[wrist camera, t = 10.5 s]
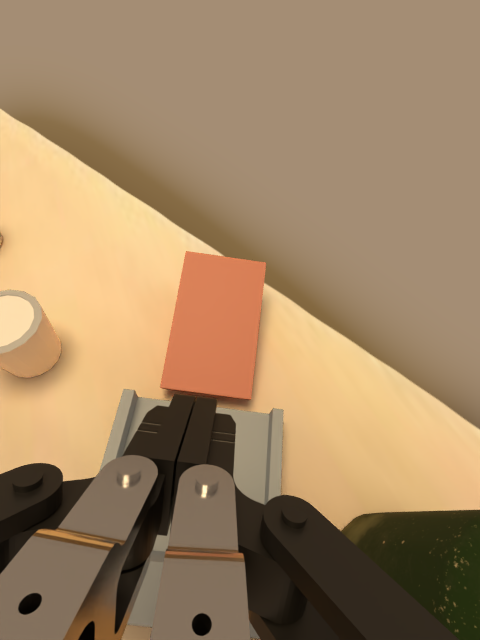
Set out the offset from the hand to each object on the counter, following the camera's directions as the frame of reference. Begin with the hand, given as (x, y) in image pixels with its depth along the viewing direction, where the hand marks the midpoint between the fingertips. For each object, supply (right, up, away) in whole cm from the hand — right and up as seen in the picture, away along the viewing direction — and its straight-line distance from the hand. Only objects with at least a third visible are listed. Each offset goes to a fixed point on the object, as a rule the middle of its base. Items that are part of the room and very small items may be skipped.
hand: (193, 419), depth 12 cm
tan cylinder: (-21, 0, +24) cm, 32 cm away
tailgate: (-2, -4, +22) cm, 22 cm away
